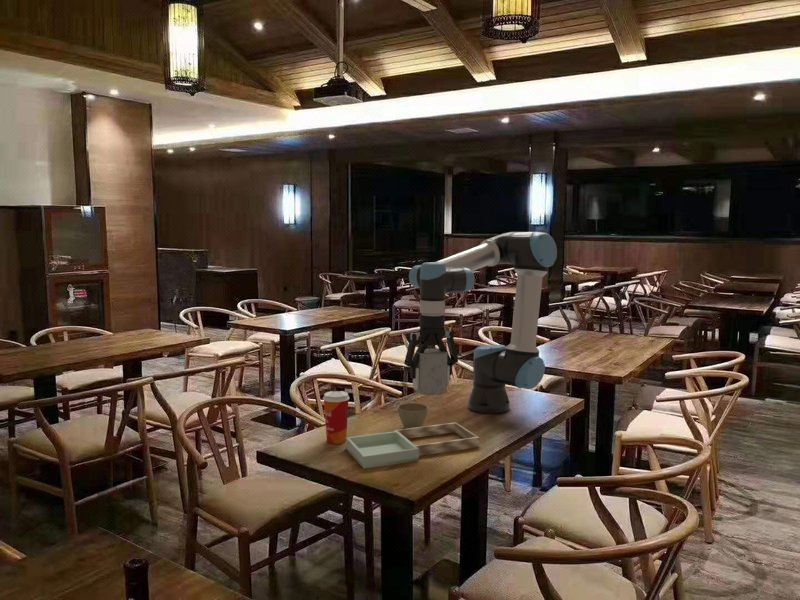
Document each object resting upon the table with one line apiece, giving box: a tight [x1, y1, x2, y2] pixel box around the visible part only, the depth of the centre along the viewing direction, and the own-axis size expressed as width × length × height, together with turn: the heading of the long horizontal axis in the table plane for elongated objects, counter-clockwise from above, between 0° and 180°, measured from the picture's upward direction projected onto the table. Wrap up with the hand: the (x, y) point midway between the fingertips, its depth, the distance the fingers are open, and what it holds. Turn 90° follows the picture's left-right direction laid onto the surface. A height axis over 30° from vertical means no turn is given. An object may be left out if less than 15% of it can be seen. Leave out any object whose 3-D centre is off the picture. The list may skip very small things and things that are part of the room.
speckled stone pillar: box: [414, 347, 449, 396], centre depth 190 cm, size 10×10×12 cm
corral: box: [393, 422, 480, 457], centre depth 194 cm, size 22×16×3 cm
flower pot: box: [397, 402, 429, 429], centre depth 208 cm, size 10×10×7 cm
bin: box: [345, 430, 420, 470], centre depth 184 cm, size 17×17×4 cm
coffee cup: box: [322, 390, 350, 445], centre depth 195 cm, size 8×8×15 cm
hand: (431, 387), depth 191 cm, fingers closed on speckled stone pillar, 9 cm apart
